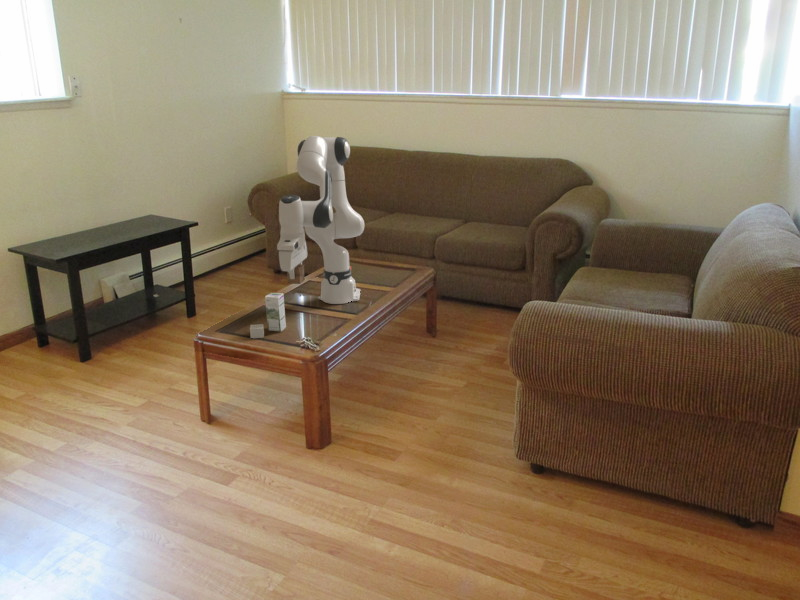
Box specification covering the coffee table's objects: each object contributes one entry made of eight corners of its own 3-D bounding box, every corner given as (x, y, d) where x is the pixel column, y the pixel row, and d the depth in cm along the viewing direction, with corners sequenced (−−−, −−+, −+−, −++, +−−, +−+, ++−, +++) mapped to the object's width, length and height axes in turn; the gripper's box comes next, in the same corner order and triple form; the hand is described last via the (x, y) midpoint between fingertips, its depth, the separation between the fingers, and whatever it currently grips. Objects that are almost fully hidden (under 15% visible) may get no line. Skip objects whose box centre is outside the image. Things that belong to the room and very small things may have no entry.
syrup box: (286, 327, 274) (283, 292, 270) (280, 332, 269) (278, 297, 264) (273, 326, 275) (270, 292, 271) (267, 331, 270) (264, 296, 265)
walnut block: (292, 279, 259) (290, 264, 257) (304, 279, 258) (303, 264, 256) (287, 283, 255) (286, 268, 253) (300, 283, 254) (299, 268, 252)
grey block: (251, 334, 268) (250, 324, 266) (264, 333, 268) (263, 323, 267) (250, 339, 263) (249, 329, 262) (263, 338, 264) (263, 328, 262)
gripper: (294, 233, 262) (296, 268, 266) (275, 246, 243) (278, 283, 247) (310, 233, 260) (312, 268, 265) (292, 247, 241) (294, 284, 246)
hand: (295, 276), depth 256 cm, fingers closed on walnut block, 5 cm apart
